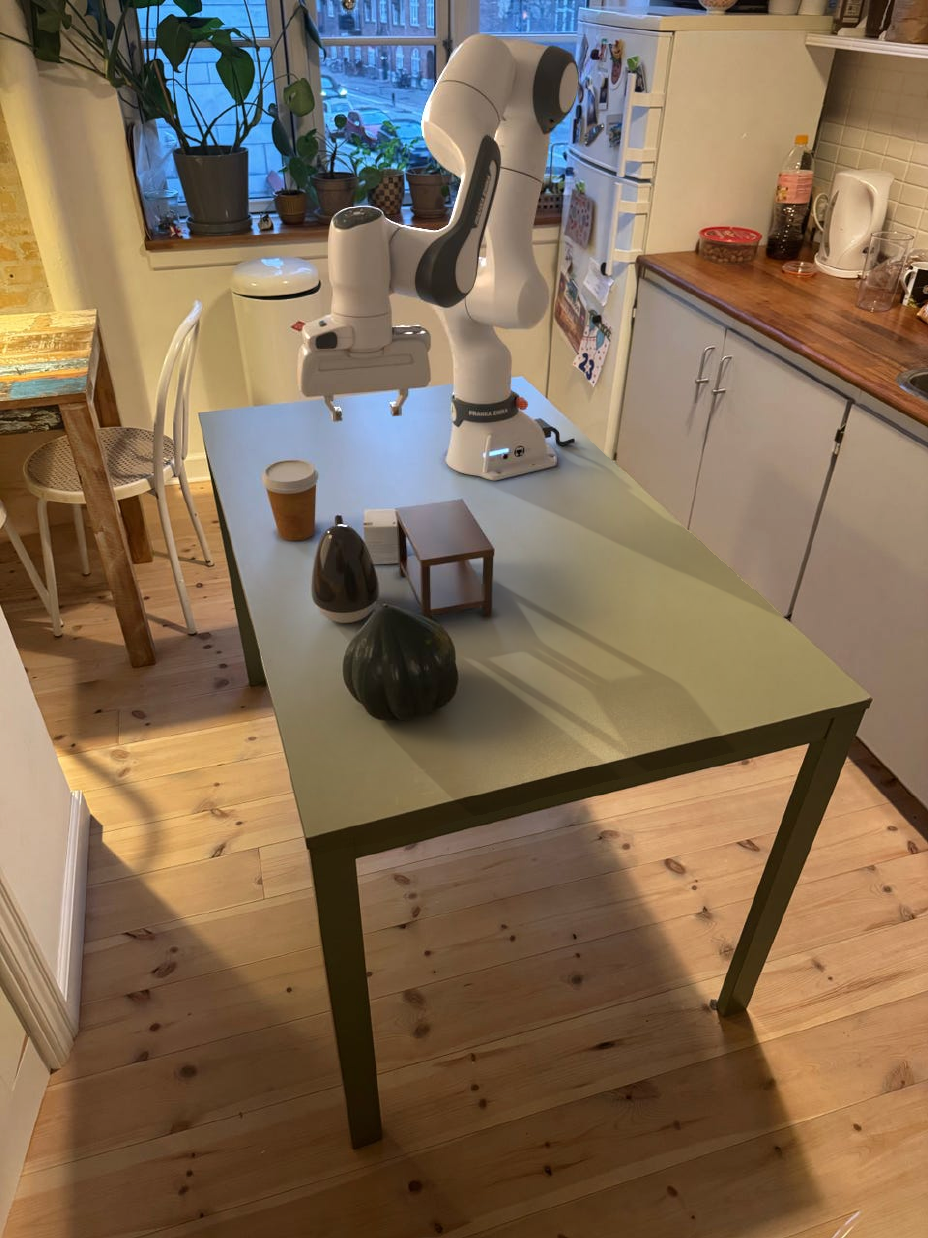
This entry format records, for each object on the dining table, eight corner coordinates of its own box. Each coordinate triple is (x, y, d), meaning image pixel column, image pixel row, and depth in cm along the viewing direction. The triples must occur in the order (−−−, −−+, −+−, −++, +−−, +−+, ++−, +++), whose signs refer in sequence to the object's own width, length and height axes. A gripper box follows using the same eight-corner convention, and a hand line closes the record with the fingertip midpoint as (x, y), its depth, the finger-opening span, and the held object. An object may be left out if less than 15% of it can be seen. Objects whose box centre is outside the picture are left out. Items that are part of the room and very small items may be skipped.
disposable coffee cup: (334, 525, 157) (328, 464, 150) (304, 550, 150) (297, 487, 143) (289, 514, 160) (281, 453, 153) (258, 538, 153) (248, 476, 146)
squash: (462, 716, 108) (453, 595, 110) (341, 726, 108) (333, 604, 109) (459, 715, 122) (451, 608, 124) (351, 724, 122) (344, 616, 123)
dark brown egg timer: (377, 590, 140) (372, 506, 131) (383, 628, 132) (378, 541, 123) (312, 596, 139) (303, 511, 130) (315, 635, 131) (305, 547, 122)
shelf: (462, 562, 147) (462, 498, 140) (492, 615, 135) (494, 548, 128) (398, 572, 145) (395, 508, 138) (423, 628, 132) (421, 560, 125)
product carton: (402, 545, 152) (400, 507, 147) (401, 564, 147) (400, 525, 142) (366, 546, 151) (364, 508, 147) (365, 565, 146) (362, 526, 142)
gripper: (425, 318, 135) (426, 404, 143) (291, 326, 130) (299, 415, 138) (435, 330, 130) (436, 419, 138) (296, 339, 125) (305, 431, 133)
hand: (366, 417), depth 138 cm, fingers open, 8 cm apart
